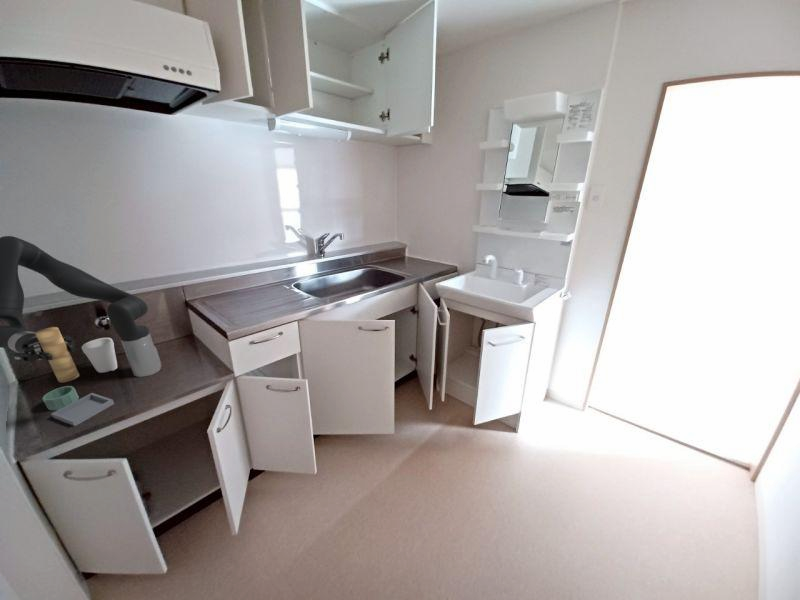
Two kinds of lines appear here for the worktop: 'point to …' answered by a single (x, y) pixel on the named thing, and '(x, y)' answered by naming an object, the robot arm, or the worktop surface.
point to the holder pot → (60, 397)
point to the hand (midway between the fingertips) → (61, 352)
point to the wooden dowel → (57, 354)
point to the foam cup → (101, 354)
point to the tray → (82, 409)
